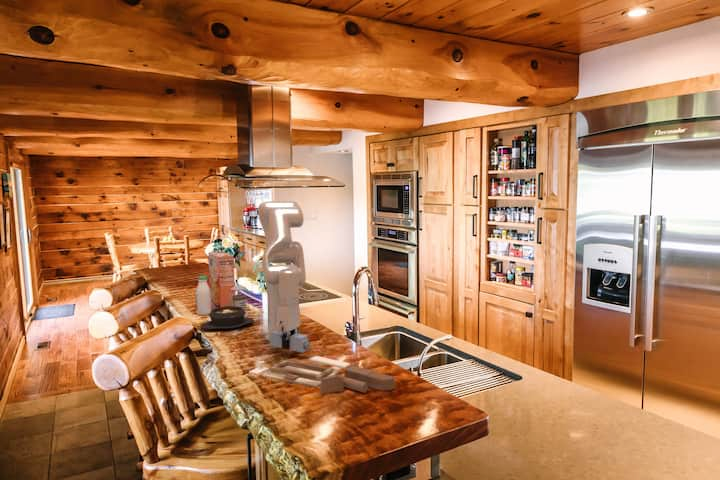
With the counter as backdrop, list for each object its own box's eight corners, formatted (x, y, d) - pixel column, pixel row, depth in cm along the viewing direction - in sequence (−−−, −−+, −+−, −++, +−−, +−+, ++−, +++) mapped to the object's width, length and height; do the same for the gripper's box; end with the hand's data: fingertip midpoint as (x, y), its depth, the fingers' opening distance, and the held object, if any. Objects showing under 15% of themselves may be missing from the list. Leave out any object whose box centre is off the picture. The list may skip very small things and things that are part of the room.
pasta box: (210, 304, 279) (208, 252, 276) (224, 302, 283) (222, 251, 280) (220, 312, 259) (218, 256, 256) (235, 310, 263) (233, 255, 260)
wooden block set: (350, 361, 167) (395, 372, 156) (350, 377, 167) (395, 389, 157) (318, 376, 153) (365, 389, 143) (318, 394, 154) (365, 408, 143)
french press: (252, 313, 257) (251, 266, 255) (238, 318, 247) (237, 269, 245) (237, 311, 262) (236, 265, 259) (223, 316, 251) (221, 268, 249)
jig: (289, 362, 182) (289, 356, 182) (340, 371, 172) (340, 365, 172) (262, 376, 168) (262, 370, 168) (316, 387, 158) (316, 381, 158)
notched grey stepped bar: (270, 345, 190) (270, 332, 190) (276, 342, 194) (276, 329, 193) (305, 353, 183) (305, 339, 182) (310, 349, 187) (310, 335, 186)
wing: (316, 358, 187) (316, 355, 187) (350, 366, 178) (350, 363, 178) (309, 361, 184) (309, 358, 184) (344, 369, 175) (344, 366, 175)
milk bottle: (214, 312, 259) (213, 275, 258) (205, 316, 252) (204, 277, 250) (202, 311, 262) (201, 274, 260) (193, 314, 255) (191, 277, 253)
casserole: (206, 335, 217) (205, 317, 216) (196, 326, 233) (195, 309, 232) (259, 327, 230) (259, 309, 229) (246, 318, 246) (246, 302, 245)
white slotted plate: (259, 369, 176) (259, 359, 175) (268, 371, 174) (268, 361, 173) (248, 375, 170) (248, 364, 170) (258, 376, 168) (257, 366, 168)
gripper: (293, 294, 195) (293, 338, 198) (267, 304, 180) (268, 352, 183) (309, 297, 192) (309, 341, 194) (284, 307, 177) (284, 355, 180)
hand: (289, 346), depth 189 cm, fingers closed on notched grey stepped bar, 4 cm apart
